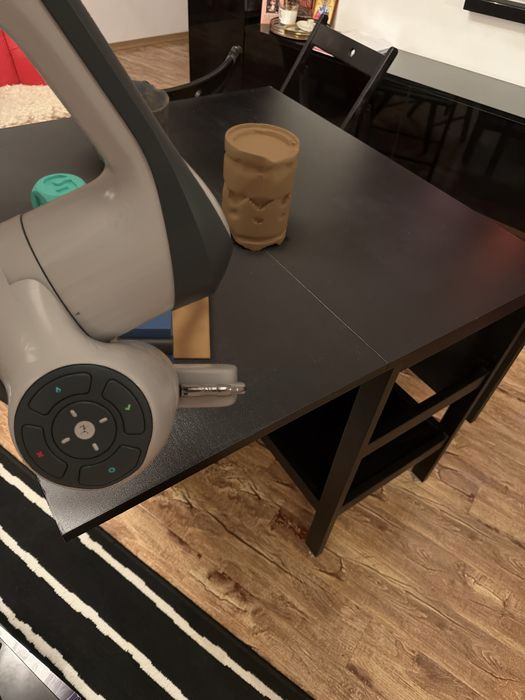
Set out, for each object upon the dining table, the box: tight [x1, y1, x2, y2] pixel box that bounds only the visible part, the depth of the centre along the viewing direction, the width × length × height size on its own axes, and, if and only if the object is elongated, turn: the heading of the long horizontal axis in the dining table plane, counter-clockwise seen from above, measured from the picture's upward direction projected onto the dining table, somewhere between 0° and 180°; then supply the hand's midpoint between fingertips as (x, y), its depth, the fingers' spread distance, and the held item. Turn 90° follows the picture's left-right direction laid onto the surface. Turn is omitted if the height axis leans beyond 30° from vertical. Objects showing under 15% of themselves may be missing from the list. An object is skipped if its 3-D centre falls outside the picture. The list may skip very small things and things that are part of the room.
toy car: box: [117, 310, 175, 364], centre depth 61 cm, size 6×6×12 cm
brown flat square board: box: [114, 296, 211, 360], centre depth 73 cm, size 16×16×1 cm
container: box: [221, 122, 301, 252], centre depth 86 cm, size 13×13×18 cm
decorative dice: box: [30, 172, 87, 210], centre depth 85 cm, size 8×8×8 cm
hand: (143, 377), depth 54 cm, fingers closed
